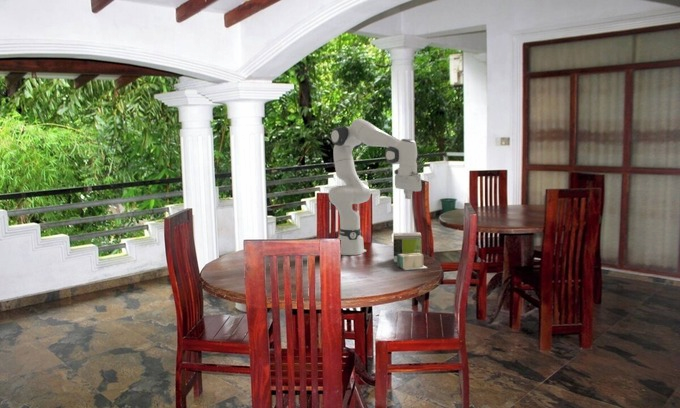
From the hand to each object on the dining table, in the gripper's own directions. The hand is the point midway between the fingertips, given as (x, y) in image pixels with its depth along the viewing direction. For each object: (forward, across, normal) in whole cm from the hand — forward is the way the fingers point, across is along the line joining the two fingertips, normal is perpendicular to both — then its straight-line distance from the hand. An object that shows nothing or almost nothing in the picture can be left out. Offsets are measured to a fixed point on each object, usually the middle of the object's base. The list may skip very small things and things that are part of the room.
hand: (408, 198), depth 299 cm
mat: (+35, -1, -2) cm, 35 cm away
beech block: (+32, 0, +5) cm, 32 cm away
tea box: (+35, +12, -7) cm, 38 cm away
